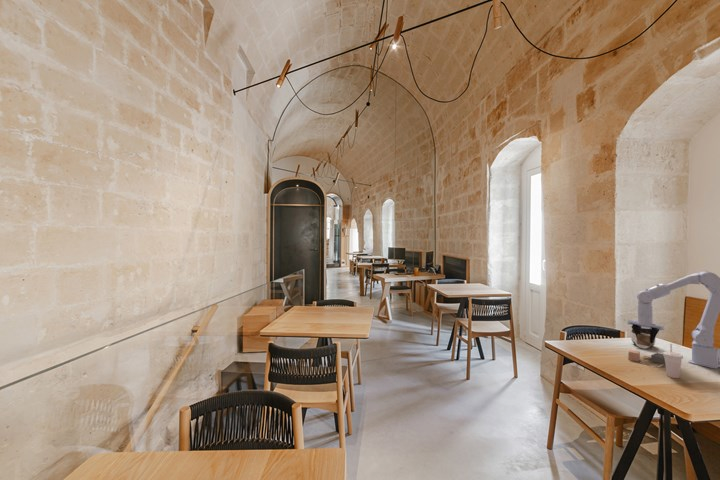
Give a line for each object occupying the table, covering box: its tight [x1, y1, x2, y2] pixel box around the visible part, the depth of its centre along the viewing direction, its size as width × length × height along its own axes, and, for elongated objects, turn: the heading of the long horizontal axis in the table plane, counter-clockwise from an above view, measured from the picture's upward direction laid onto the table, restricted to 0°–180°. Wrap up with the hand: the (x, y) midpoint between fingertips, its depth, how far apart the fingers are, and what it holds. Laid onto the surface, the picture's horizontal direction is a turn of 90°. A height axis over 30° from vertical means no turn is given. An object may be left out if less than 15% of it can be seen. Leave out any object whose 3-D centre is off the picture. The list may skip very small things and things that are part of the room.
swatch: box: [639, 359, 665, 368], centre depth 162 cm, size 7×7×1 cm
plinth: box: [650, 352, 666, 366], centre depth 164 cm, size 7×7×4 cm
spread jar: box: [630, 326, 656, 349], centre depth 189 cm, size 12×11×12 cm
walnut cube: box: [637, 333, 655, 348], centre depth 174 cm, size 5×5×5 cm
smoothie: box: [662, 343, 684, 379], centre depth 148 cm, size 6×6×14 cm
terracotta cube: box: [627, 349, 641, 363], centre depth 168 cm, size 4×4×4 cm
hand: (645, 341), depth 174 cm, fingers closed on walnut cube, 5 cm apart
